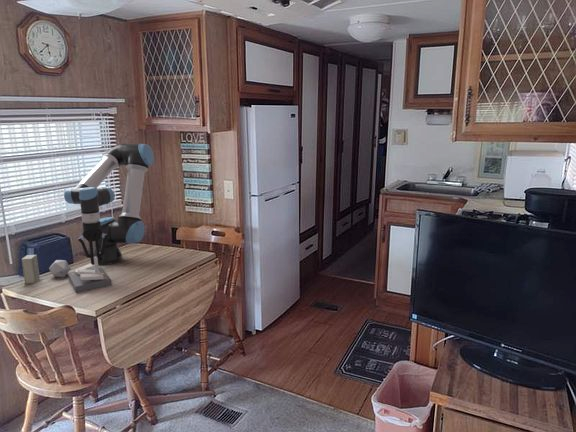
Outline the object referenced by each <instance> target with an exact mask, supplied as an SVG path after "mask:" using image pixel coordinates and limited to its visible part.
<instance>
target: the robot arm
mask: <svg viewBox="0 0 576 432" xmlns="http://www.w3.org/2000/svg"><path fill="white" fill-rule="evenodd" d="M154 163H155V156H154V151H153V149H152V147H151V146H150V145H149V144H146V143H121V144H118V145H117V144H116V145H115V146H113V147H111V148H110V149H108V150H107V151H105V153H104V154H102V156H101V158H100V161H98V163H97V164H96V165H95V166H94V167H93V168H92V169H91V170H90V171H89V172H88V173H87V174H86V175H85V177H83V179H82V180H81V181H79V183H78V184H77V185H76V186H75V187H70V188H67V189H66V190H64V194H63V198H64V200H65V201H66V203H67V204H73V205H80V210H81V214H80V215H81V222H82V223H81V224H82V234H81V236H80V237H77V240H78V242H79V243H80V244H81V247H82V250H83V252H84V255H85V257H86V258H89V259H90V263H91V264H92V265H94V268H93V269H94V271H95V272H96V271H99V269H98V268H99V265H102V266H103V265H111V264H116V263H119V262H121V261H122V260H123V253H122V252H121V249H120V247H119V245H118V243H119V244H138V243H140V241H142V239H143V237H144V236H145V230H146V227H145V224H144V222H143V221H142V220H143V219H142V218H141V216H140V212H141V211H140V210H141V205H142V204H141V203H142V198H143V197H142V196H143V188H144V182H145V173H147V172H148V171H149V167H150V166H153V164H154ZM121 166H125V168H126V170H127V174H126V182H125V190H124V196H123V197H124V198H123V204H122V205H123V206H122V211H121V214H120V215H118V217H117V220H116V217H114V216H107V217H102V218H101V216H100V207H101V206H104V205H109V204H110V203H112V202H113V201H114V200H115V197H116V196H115V192H114V190H113V189H111V188H109V187H102V188H98V187H99V186H100V185H101V184H102V183H103V182H104V180H105V179H106V178H107V177H108V176H109V175H110V174H111V173H112V171H115V170H117V169H118V168H119V167H121ZM85 240H86V241H87V242H88V247H89V248H88V249H89V252H88V249H87V246H86V243H85V242H84V241H85Z"/></svg>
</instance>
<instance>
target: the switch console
mask: <svg viewBox="0 0 576 432" xmlns="http://www.w3.org/2000/svg"><path fill="white" fill-rule="evenodd" d="M98 269H99V271H100V273H101V274H102V275H103V276H104V279H99V280H81V278H80V275H79V274H78V275H77V274H76V272H75V271H73V272H68V273H67V276H68V280H69V282H70V284H71V286H72V288H73V291H74V293H75V294H79V293H83V292H89V291H93V290H99V289H103V288H109V287H112V286H113V282H112V278H110V276H109V275H108V274H107V271H105V270H104V268H103V267H99V266H98ZM91 270H94V268H93V269H91Z"/></svg>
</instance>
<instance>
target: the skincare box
mask: <svg viewBox="0 0 576 432" xmlns="http://www.w3.org/2000/svg"><path fill="white" fill-rule="evenodd" d="M21 266H22V271H23V272H22V273H23V278H24V279H23V280H24V284H35V283H36V282H38V281H39V280H40V279H39V278H40V270H39V262H38V256H37V254H26V255H25V256H24V257H22V258H21ZM38 279H39V280H38Z"/></svg>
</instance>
